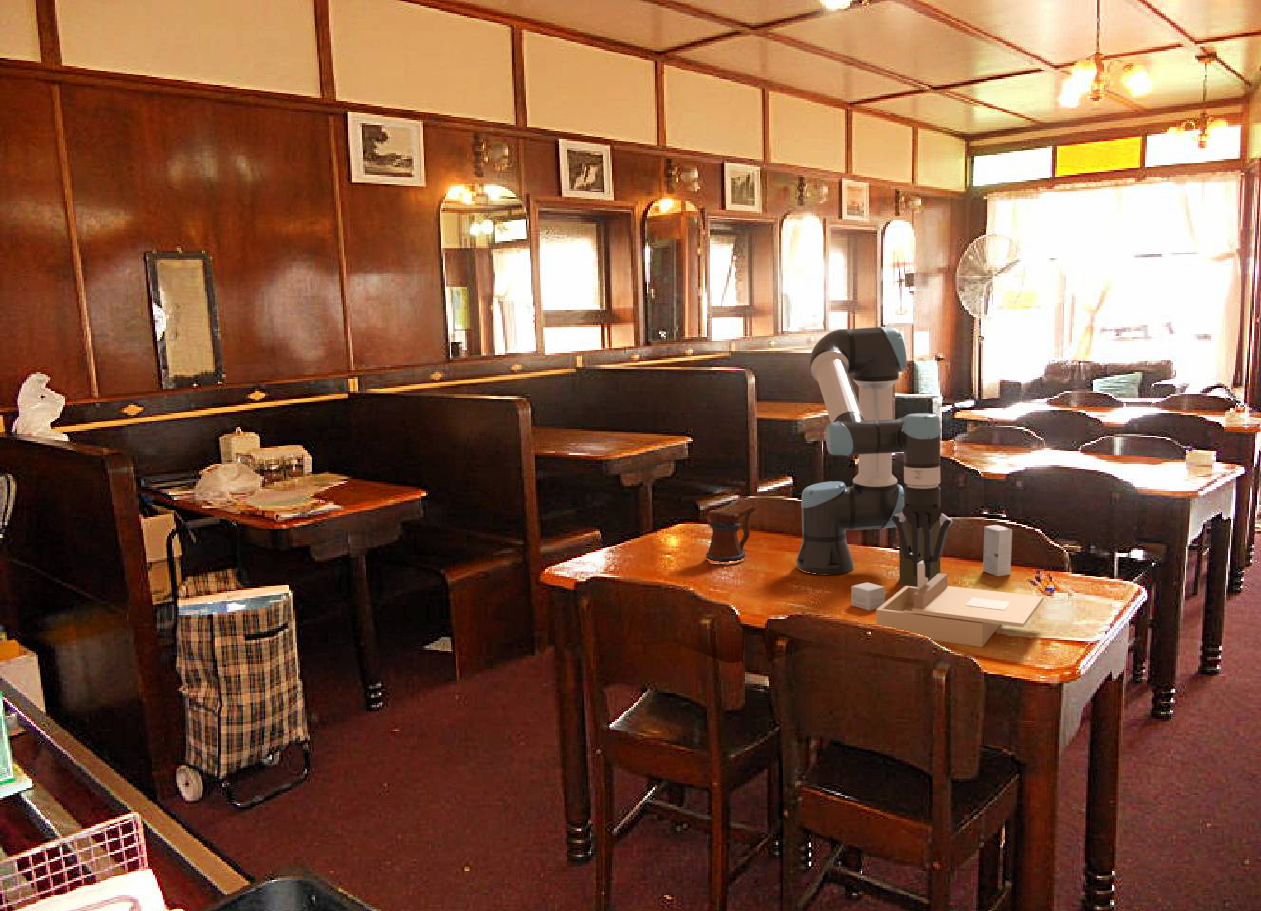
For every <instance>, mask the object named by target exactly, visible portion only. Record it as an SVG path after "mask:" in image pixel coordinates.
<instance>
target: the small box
mask: <svg viewBox="0 0 1261 911" xmlns="http://www.w3.org/2000/svg"><path fill="white" fill-rule="evenodd" d="M885 592H886V587H885V586H882V585H878V584H875V583H872V582H871V583H870V582H863V583H859V584H855V585H852V586H851V606H852V607H857V608H860V609H862V610H866V611H868V612H869V611H874V610H876V609H877V608H879V607H880V606H881V605H882V604H884V603H885V602H886V593H885Z"/></svg>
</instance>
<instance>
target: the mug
mask: <svg viewBox="0 0 1261 911" xmlns="http://www.w3.org/2000/svg"><path fill="white" fill-rule="evenodd" d="M756 510H757V508H756V506H755V505H753V504H752V505H749V506H748V507H747V508H745V509H741V510H740V511H739V512H737V513H734V512H727V511H726V512H724V511H714V510H710V511H708V512H707V513H708V516H709V520H710V523H709V525H710V528H712V535H711V541H710V546H709V548H708V552H706V554H705V559H706V558H708V559H710V560H713V561H719V562H729V561H737V560H741V559H742V558H744V557H745V558H746V555H745V551H747V552H748V550H747V549H744V545H745V544H746V542H747V541H748V540H749V538H750V535H751V534H750V533H751V531H750V517H751V514H753V513H754V512H755V511H756ZM743 516H744V517H743ZM742 517H743V523H742V530H743V531H742V532H743V537H742V538H741V540H740V542H739V538H738V537H739V536H738V533H737V532H738V531H739V530H740V527H741V523H740V522H739V519H741V518H742Z"/></svg>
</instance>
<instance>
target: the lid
mask: <svg viewBox="0 0 1261 911" xmlns="http://www.w3.org/2000/svg"><path fill="white" fill-rule="evenodd" d="M1043 601H1044V596H1041V595H1032V594H1023V593H1016V592H1015V593H1014V592H1004V591H997V590H988V589H978V588H971V587H961V586H960V587H959V586H951V585H948V574H947V573H941V572H940V573H938V574H937V575H936V576H935V577H933V578H932V579H931V580H930V581H929V582H928V583H926V584H925V585H924V586H923V587H922V588H920V589H919V590H918V591H917V592H916V593H915V594H914V608H913V609H912V613H916V614H924V615H932V616H939V617H947V618H955V619H962V620H970V621H977V622H985V623H993V624H1000V626H1001V625H1002V626H1008V627H1009V626H1010V627H1017V628H1024V627H1025V625H1027V623H1028V622H1029V620H1030V619H1031V617H1032V616H1033V615H1034V614H1035V612H1036V611H1037V609H1038V608H1039V607H1040V605H1041V604H1042V603H1043Z"/></svg>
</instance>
